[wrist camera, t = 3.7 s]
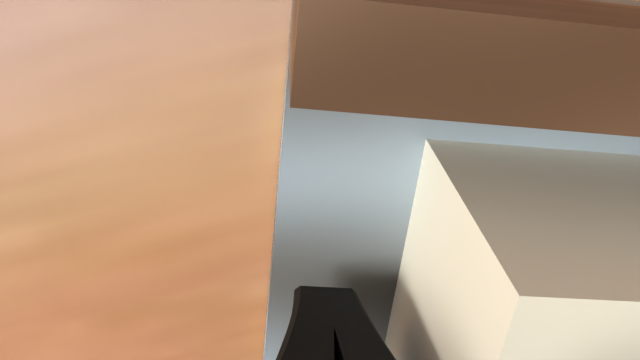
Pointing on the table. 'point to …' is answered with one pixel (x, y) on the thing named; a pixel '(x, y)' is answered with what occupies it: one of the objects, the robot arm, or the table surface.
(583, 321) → the cream chamfered box
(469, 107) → the bay
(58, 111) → the table surface
